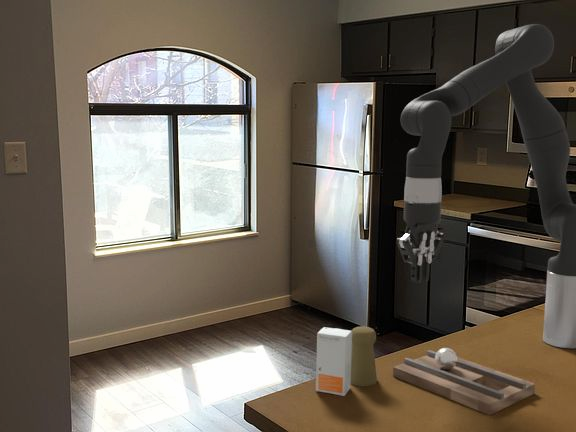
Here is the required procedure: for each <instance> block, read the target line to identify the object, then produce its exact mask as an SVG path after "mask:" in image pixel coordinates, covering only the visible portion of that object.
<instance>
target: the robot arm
mask: <svg viewBox="0 0 576 432" xmlns="http://www.w3.org/2000/svg"><path fill="white" fill-rule="evenodd" d="M495 41H496V42H495V48H494V50H495V55H494V56H492V57H490V58H488V59H486V60H483V61H482V62H479V63H478V64H475V65H473V66H471V67H469V68H467V69H465V70H463V71H462V72H460V73H459V74H457V75H456V76H454V77H453V78H451V79H450V80H449V81H447V82H446V83H444V84H443V85H441V86H440V87H438V88H436V89H433V90H431V91H429V92H427V93H424V94H422V95H420V96H419V97H417V98H414V99H413V100H411V101H410V102H409V103H408V104H406V106H405V107H404V109H402V112H401V114H400V125H401V127H402V129H403V131H405V132H406V133H407V134H409V135H411V136H419V137H420V139H419V143H418V146H417V147H413V148H411V149H410V150H408V152H407V154H406V164H405V165H406V171H405V175H406V176H405V183H404V190H403V191H404V194H403V195H404V197H403V221H404V222H405V223H406V227H405V231H404V235H403V236H402V237H397V238H396V245H397V247H398V249H399V252H400V255H401V257H402V260H403V262H404V263H408V264H410V279H411V282H413V283H416V284H420V283H422V282H428V281H429V280H430V279H429V278H430V268H431V265H430V264H431V263H432V261H433V260H436V259H438V256H439V253H440V251H441V248H442V245H443V243H444V240H445V237H446V234H445V232H440V231H438V225H437V224H439V223H440V222H441V219H442V218H441V217H442V216H441V215H442V197H443V196H442V195H443V193H442V192H443V190H442V187H443V186H442V178H441V177H442V158H443V154H444V152H445V149H446V147H447V146H446V145H447V142H448V139H449V135H450V132H451V128H452V117H455V116H459V115H461V114H463V113H464V112H466V111H468V109H470V108H472V107H473V106H474V105H476V104H477V103H478V102H480V101H481V100H482V99H484V98H485V97H487V96H488V95H490V94H491V93H492V92H494V91H495V90H497V89H499V87H501V86H503V85H504V84H505V85H506V88H507V90H508V92H509V95H510V98H511V102H512V104H513V107H514V111H515V114H516V117H517V120H518V123H519V128H520V130H521V131H520V132H521V135H522V139H523V143H524V147H525V150H526V154H527V156H528V157H527V158H528V159H529V163H530V166H531V171H532V175H533V178H534V181H535V185H536V189H537V193H538V194H537V195H538V199H539V205H540V211H541V218H542V224H543V227H544V230H545V232H546V233H547V234H548V236H549V237H550V238H552V239H553V240H555V241H558V242H560V246H559V252H558V254H557V255H556V256H551V257H550V258H549V259H548V261H547V271H546V290H545V304H544V315H543V316H544V319H543V332H542V341H543V342H544V343H546V344H548V345H550V346H552V347H556V348H557V347H558V348H562V349H563V348H564V349H576V203H573V200H572V198H571V195H570V191H569V189H568V184H567V170H568V166H569V161H570V157H571V145H570V139H569V136H568V131H567V127H566V125H565V120H564V119H563V117H562V115H561V114H560V113H559V112H558V110H557V109H556V107H555V106H553V104H552V103H551V102H550V101H549V100H548V99H547V98H546V97H545V96H544V95H543V93H542V92H541V91H540V89H539V87H538V85H537V84H536V81H535V78H534V76H533V72H532V70H533V69H534V68H538V67H540V66H542V65H544V64H545V63H547V62H548V61H549V60H550V58H551V57H552V54H553V53H554V50H555V49H554V48H555V39H554V35H553V34H552V32H551V30H550V29H549V28H548V27H547V26H545V25H543V24H539V23H532V24H526V25H523V26H522V25H521V26H520V27H516V28H512V29H509V30H506V31H503V32H502V33H500V34H499V36H498V37H497V38H496V40H495Z"/></svg>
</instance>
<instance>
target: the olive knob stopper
mask: <svg viewBox="0 0 576 432" xmlns="http://www.w3.org/2000/svg"><path fill="white" fill-rule="evenodd" d="M351 331H352V351H351V385H353V386H357V387H358V386H359V387H370V386H373V385H374V386H375V385H376V383H377V382H378V378H377V377H378V376H377V368H376V359H375V350H374V344H375V343H376V341H377V333H376V331H375V329H374V328H371V327H369V326H362V325H361V326H356V327H354V328H352V329H351Z"/></svg>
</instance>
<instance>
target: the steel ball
mask: <svg viewBox="0 0 576 432" xmlns="http://www.w3.org/2000/svg"><path fill="white" fill-rule="evenodd" d="M437 351H438V352H437ZM437 351H436V352H437V353H436V355H435V361H436V364H437V365H438V366H439V367H440V368H441V369H444V370H449V369H452V368H453V367H454V366H455V365H456V363H457V357H458V356H457V354H456V352H455V351H454V350H453V349H452V348H449V347H442V348H440V349H438V350H437Z"/></svg>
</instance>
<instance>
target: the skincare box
mask: <svg viewBox="0 0 576 432" xmlns="http://www.w3.org/2000/svg"><path fill="white" fill-rule="evenodd" d="M352 346H353V343H352V330H348V329H342V328H336V327H335V328H333V327H325V326H323V327H322V328H320V330H319V331H318V332H317V333H316V360H315V361H316V363H315V364H316V366H315V370H316V371H315V391H316V392H321V393H327V394H333V395H337V396H341V397H345V396H346V395H347V393H348V392H349V391H350V389H351V386H352V384H351V353H352Z"/></svg>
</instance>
